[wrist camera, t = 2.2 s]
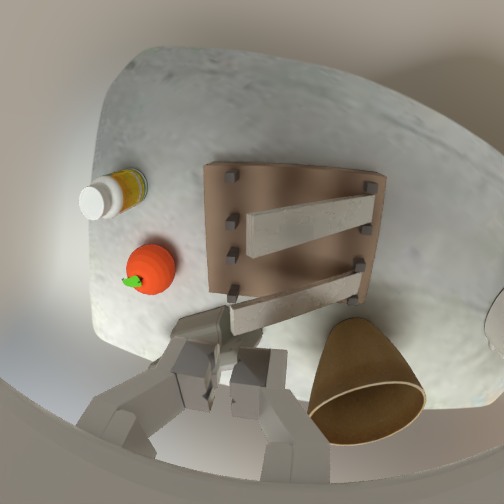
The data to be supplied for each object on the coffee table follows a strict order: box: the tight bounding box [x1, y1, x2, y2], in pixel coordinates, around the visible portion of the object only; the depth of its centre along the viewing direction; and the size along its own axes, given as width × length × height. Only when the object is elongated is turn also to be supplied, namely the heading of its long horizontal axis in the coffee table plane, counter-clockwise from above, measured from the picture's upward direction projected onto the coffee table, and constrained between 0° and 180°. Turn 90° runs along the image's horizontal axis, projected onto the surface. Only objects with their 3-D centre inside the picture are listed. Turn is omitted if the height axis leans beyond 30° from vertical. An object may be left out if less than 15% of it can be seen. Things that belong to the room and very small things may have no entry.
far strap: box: [230, 270, 362, 336], centre depth 28 cm, size 16×3×1 cm
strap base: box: [203, 162, 387, 306], centre depth 32 cm, size 20×16×7 cm
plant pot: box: [307, 318, 426, 446], centre depth 33 cm, size 15×15×16 cm
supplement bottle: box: [79, 168, 147, 220], centre depth 31 cm, size 5×5×10 cm
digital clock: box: [148, 306, 263, 371], centre depth 39 cm, size 16×9×11 cm, turn 104°
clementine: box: [122, 244, 175, 295], centre depth 36 cm, size 8×7×7 cm
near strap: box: [246, 193, 375, 259], centre depth 24 cm, size 16×3×1 cm
